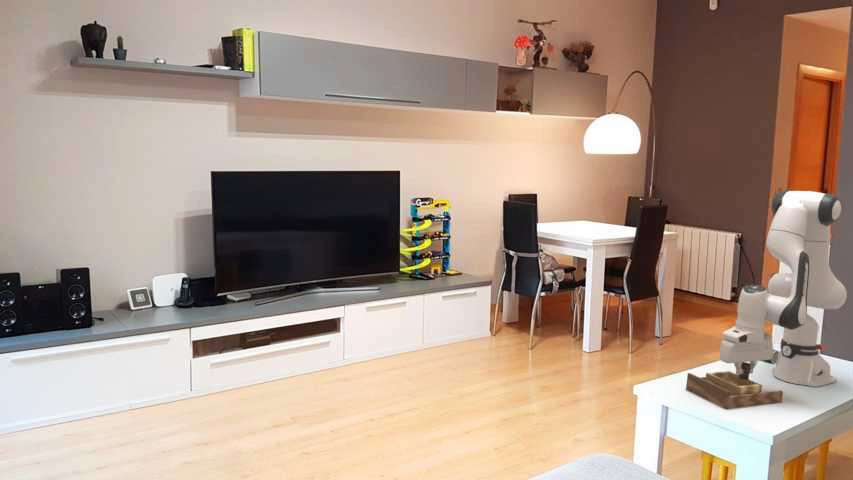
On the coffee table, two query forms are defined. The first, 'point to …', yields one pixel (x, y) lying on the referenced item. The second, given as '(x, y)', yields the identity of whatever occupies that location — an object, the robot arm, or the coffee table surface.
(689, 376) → the bay
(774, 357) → the flashlight
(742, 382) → the crate
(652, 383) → the coffee table surface
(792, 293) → the robot arm
